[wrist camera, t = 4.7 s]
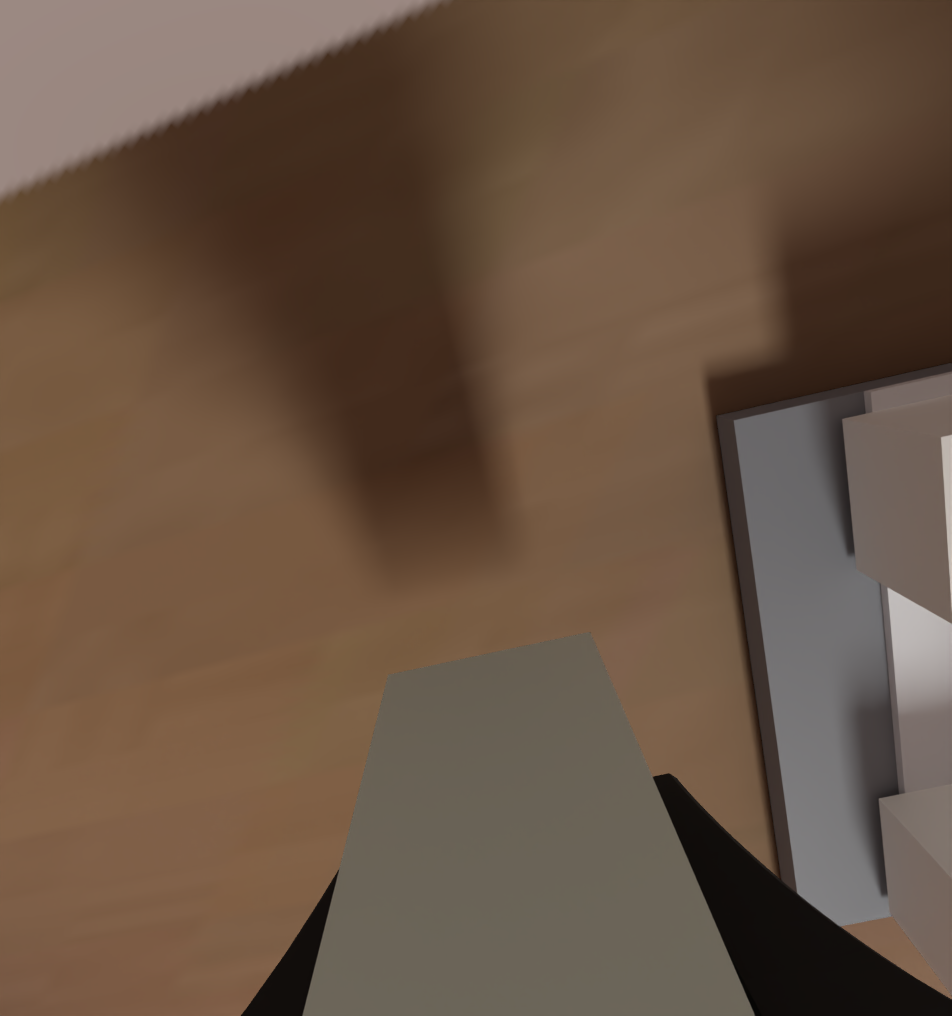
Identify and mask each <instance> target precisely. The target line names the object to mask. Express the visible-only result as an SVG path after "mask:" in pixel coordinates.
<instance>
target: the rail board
mask: <svg viewBox="0 0 952 1016" xmlns="http://www.w3.org/2000/svg"><path fill="white" fill-rule="evenodd" d="M716 417H717V424H718V432H719V439H720V446H721V453H722V460H723V467H724V474H725V481H726V489H727V496H728V503H729V510H730V517H731V524H732V531H733V538H734V546H735V553H736V560H737V567H738V574H739V581H740V588H741V595H742V603H743V610H744V617H745V624H746V631H747V638H748V645H749V652H750V660H751V667H752V674H753V681H754V688H755V695H756V702H757V709H758V717H759V724H760V731H761V738H762V745H763V752H764V759H765V766H766V774H767V781H768V788H769V795H770V802H771V809H772V816H773V823H774V831H775V838H776V845H777V852H778V859H779V866H780V873H781V880H782V881H783V882H784V883H785V884H786V885H788V886H789V887H790V888H791V889H793V890H794V891H795V892H796V893H797V894H799V895H800V896H801V897H802V898H804V899H805V900H806V901H807V902H808V903H810V904H811V905H812V906H814V907H815V908H816V909H818V910H819V911H820V912H821V913H823V914H824V915H825V916H827V917H828V918H829V919H831V920H832V921H833V922H835V923H836V924H837V925H839V926H844V925H849V924H854V923H859V922H865V921H870V920H875V919H880V918H885V917H891V916H893V918H894V919H895V921H896V922H897V923H898V925H899V926H900V927H901V929H902V930H903V931H904V933H905V934H906V935H907V937H908V938H909V939H910V941H911V942H912V943H913V945H914V946H915V947H916V949H917V950H918V951H919V953H920V954H921V955H922V957H923V958H924V959H925V961H926V962H927V963H928V965H929V966H930V967H931V969H932V970H933V971H934V973H935V974H936V975H937V977H938V978H939V979H940V981H941V982H942V983H943V985H944V986H945V987H946V989H947V990H948V991H949V993H950V994H951V995H952V363H949V364H944V365H940V366H935V367H931V368H926V369H922V370H918V371H913V372H909V373H904V374H900V375H895V376H891V377H886V378H882V379H878V380H873V381H869V382H864V383H860V384H855V385H851V386H846V387H842V388H838V389H833V390H829V391H824V392H820V393H815V394H811V395H806V396H802V397H798V398H793V399H789V400H784V401H780V402H775V403H771V404H766V405H762V406H758V407H753V408H749V409H744V410H740V411H735V412H731V413H726V414H722V415H718V416H716Z"/></svg>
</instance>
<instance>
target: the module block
mask: <svg viewBox="0 0 952 1016" xmlns="http://www.w3.org/2000/svg"><path fill="white" fill-rule="evenodd" d="M303 1016H755V1015H754V1012H753V1010H752V1008H751V1005H750V1003H749V1001H748V998H747V996H746V994H745V991H744V989H743V987H742V984H741V982H740V980H739V977H738V975H737V973H736V970H735V968H734V966H733V963H732V961H731V959H730V956H729V954H728V952H727V949H726V947H725V945H724V942H723V940H722V938H721V935H720V933H719V931H718V928H717V926H716V924H715V921H714V919H713V917H712V914H711V912H710V910H709V907H708V905H707V903H706V900H705V898H704V896H703V894H702V891H701V889H700V887H699V884H698V882H697V880H696V877H695V875H694V873H693V870H692V868H691V866H690V863H689V861H688V859H687V856H686V854H685V852H684V849H683V847H682V845H681V842H680V840H679V838H678V835H677V833H676V831H675V828H674V826H673V824H672V821H671V819H670V817H669V814H668V812H667V810H666V807H665V805H664V803H663V800H662V798H661V796H660V793H659V791H658V789H657V786H656V784H655V782H654V779H653V777H652V775H651V772H650V770H649V768H648V765H647V763H646V761H645V758H644V756H643V754H642V751H641V749H640V747H639V744H638V742H637V740H636V738H635V735H634V733H633V731H632V728H631V726H630V724H629V721H628V719H627V717H626V714H625V712H624V710H623V707H622V705H621V703H620V700H619V698H618V696H617V693H616V691H615V689H614V686H613V684H612V682H611V679H610V677H609V675H608V672H607V670H606V668H605V665H604V663H603V661H602V658H601V656H600V654H599V651H598V649H597V647H596V644H595V642H594V640H593V637H592V635H591V633H590V632H588V633H583V634H578V635H573V636H569V637H564V638H559V639H555V640H550V641H545V642H540V643H536V644H531V645H526V646H522V647H517V648H512V649H508V650H503V651H498V652H493V653H489V654H484V655H479V656H475V657H470V658H465V659H460V660H456V661H451V662H446V663H442V664H437V665H432V666H428V667H423V668H418V669H413V670H409V671H404V672H399V673H395V674H390V675H388V678H387V682H386V686H385V690H384V693H383V697H382V701H381V705H380V709H379V713H378V717H377V721H376V725H375V729H374V733H373V737H372V741H371V745H370V749H369V753H368V757H367V761H366V765H365V769H364V773H363V777H362V781H361V785H360V789H359V793H358V797H357V801H356V805H355V809H354V813H353V817H352V821H351V825H350V829H349V833H348V837H347V841H346V845H345V849H344V853H343V857H342V861H341V865H340V869H339V873H338V877H337V881H336V885H335V889H334V893H333V897H332V900H331V904H330V908H329V912H328V916H327V920H326V924H325V928H324V932H323V936H322V940H321V944H320V948H319V952H318V956H317V960H316V964H315V968H314V972H313V976H312V980H311V984H310V988H309V992H308V996H307V1000H306V1004H305V1008H304V1012H303Z"/></svg>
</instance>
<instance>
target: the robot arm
mask: <svg viewBox="0 0 952 1016" xmlns="http://www.w3.org/2000/svg"><path fill="white" fill-rule="evenodd" d="M653 779H654V782H655V784H656V786H657V789H658V791H659V793H660V796H661V798H662V800H663V803H664V805H665V807H666V810H667V812H668V814H669V817H670V819H671V821H672V824H673V826H674V828H675V831H676V833H677V835H678V838H679V840H680V842H681V845H682V847H683V849H684V852H685V854H686V856H687V859H688V861H689V863H690V866H691V868H692V870H693V873H694V875H695V877H696V880H697V882H698V884H699V887H700V889H701V891H702V894H703V896H704V898H705V900H706V903H707V905H708V907H709V910H710V912H711V914H712V917H713V919H714V921H715V924H716V926H717V928H718V931H719V933H720V935H721V938H722V940H723V942H724V945H725V947H726V949H727V952H728V954H729V956H730V959H731V961H732V963H733V966H734V968H735V970H736V973H737V975H738V977H739V980H740V982H741V984H742V987H743V989H744V991H745V994H746V996H747V998H748V1001H749V1003H750V1005H751V1008H752V1010H753V1012H754V1015H755V1016H952V999H950V998H948V997H946V996H945V995H943V994H941V993H940V992H938V991H936V990H935V989H933V988H931V987H930V986H928V985H926V984H925V983H923V982H921V981H920V980H918V979H916V978H915V977H913V976H912V975H910V974H908V973H907V972H905V971H904V970H902V969H901V968H899V967H898V966H896V965H895V964H893V963H892V962H890V961H889V960H887V959H886V958H884V957H883V956H881V955H880V954H878V953H877V952H875V951H874V950H872V949H871V948H870V947H868V946H867V945H865V944H864V943H862V942H861V941H860V940H858V939H857V938H855V937H854V936H853V935H851V934H850V933H848V932H847V931H846V930H844V929H843V928H841V927H840V926H839V925H837V924H836V923H835V922H833V921H832V920H831V919H829V918H828V917H827V916H825V915H824V914H823V913H821V912H820V911H819V910H818V909H816V908H815V907H814V906H812V905H811V904H810V903H808V902H807V901H806V900H805V899H804V898H802V897H801V896H800V895H799V894H797V893H796V892H795V891H794V890H793V889H791V888H790V887H789V886H788V885H786V884H785V883H784V882H783V881H781V880H780V879H779V878H778V877H777V876H776V875H774V874H773V873H772V872H771V871H770V870H769V869H767V868H766V867H765V866H764V865H763V864H762V863H761V862H760V861H758V860H757V859H756V858H755V857H754V856H753V855H752V854H751V853H750V852H749V851H747V850H746V849H745V848H744V847H743V846H742V845H741V844H740V843H739V842H738V841H736V840H735V839H734V838H733V837H732V836H731V835H730V834H729V833H728V832H727V831H726V830H725V829H724V828H723V827H722V826H721V825H720V824H719V823H718V822H717V821H716V820H715V819H714V818H713V817H712V816H711V815H710V814H709V813H708V812H707V811H706V810H705V809H704V808H703V807H702V806H701V805H700V804H699V803H698V802H697V801H696V800H695V799H694V797H693V796H692V795H691V794H690V793H689V792H688V791H687V790H686V789H685V787H684V786H683V785H682V784H681V783H680V782H679V780H678V779H677V778H675V777H674V776H672V775H671V774H664V775H659V776H654V777H653ZM339 869H340V868H339ZM338 873H339V870H338V872H337V873H336V875H335V877H334V878H333V880H332V881H331V883H330V885H329V886H328V888H327V890H326V891H325V893H324V894H323V896H322V898H321V899H320V901H319V902H318V904H317V906H316V907H315V909H314V910H313V912H312V913H311V915H310V917H309V918H308V920H307V921H306V923H305V924H304V926H303V927H302V929H301V930H300V932H299V934H298V935H297V937H296V938H295V940H294V941H293V943H292V944H291V946H290V947H289V949H288V950H287V952H286V953H285V955H284V956H283V958H282V959H281V961H280V962H279V963H278V965H277V966H276V968H275V969H274V970H273V972H272V973H271V975H270V976H269V978H268V979H267V980H266V982H265V983H264V985H263V986H262V987H261V989H260V990H259V992H258V993H257V994H256V996H255V997H254V999H253V1000H252V1001H251V1003H250V1004H249V1006H248V1007H247V1008H246V1010H245V1011H244V1012H243V1014H242V1015H241V1016H303V1012H304V1008H305V1004H306V1000H307V996H308V992H309V988H310V984H311V980H312V976H313V972H314V968H315V964H316V960H317V956H318V952H319V948H320V944H321V940H322V936H323V932H324V928H325V924H326V920H327V916H328V912H329V908H330V904H331V900H332V897H333V893H334V889H335V885H336V881H337V877H338Z"/></svg>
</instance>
